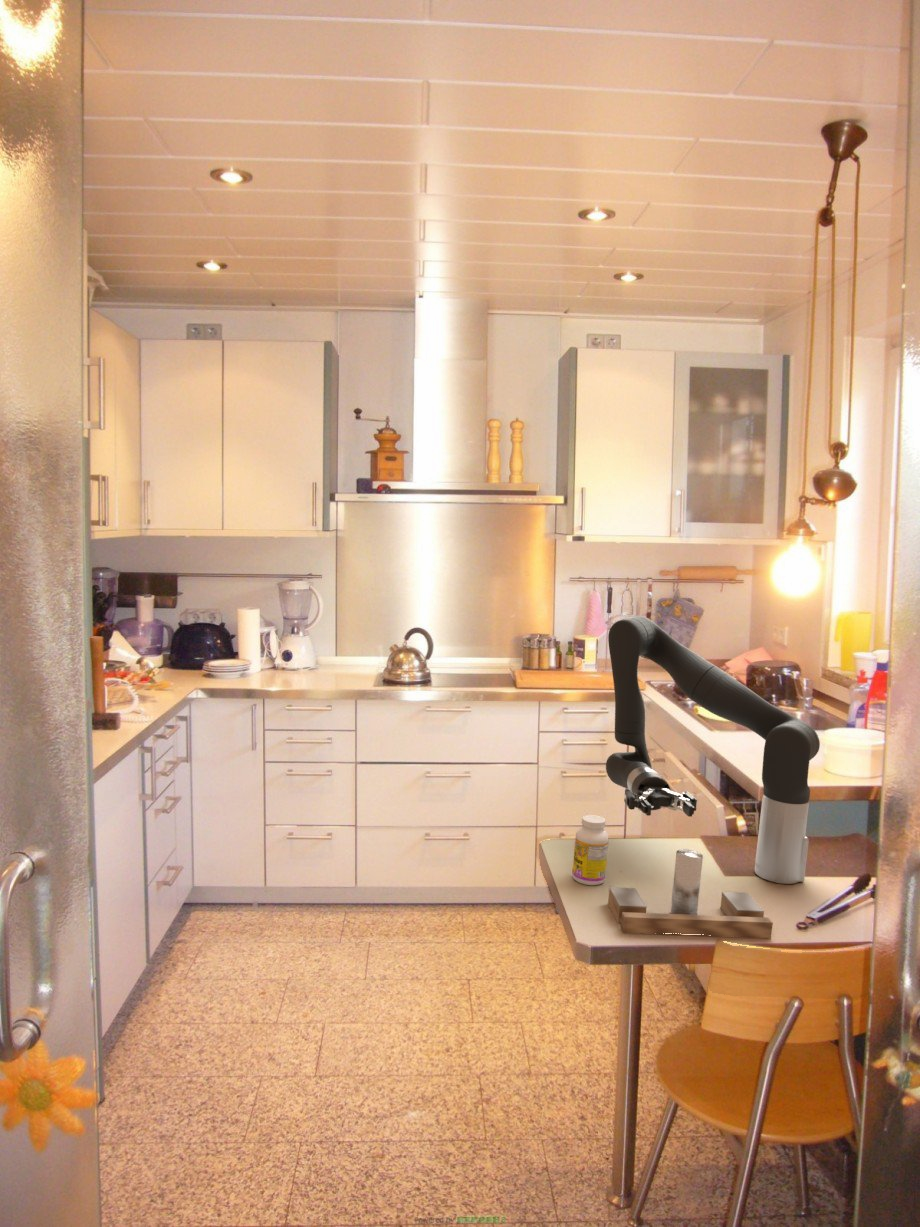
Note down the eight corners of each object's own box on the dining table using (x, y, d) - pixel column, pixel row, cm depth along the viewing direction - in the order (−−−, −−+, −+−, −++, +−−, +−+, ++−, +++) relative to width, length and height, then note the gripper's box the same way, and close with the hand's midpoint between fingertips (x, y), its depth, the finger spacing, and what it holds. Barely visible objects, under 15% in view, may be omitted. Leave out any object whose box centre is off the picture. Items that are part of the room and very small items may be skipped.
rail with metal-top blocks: (745, 908, 173) (747, 892, 173) (770, 938, 161) (772, 920, 161) (608, 903, 171) (609, 887, 171) (623, 933, 159) (625, 915, 159)
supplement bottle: (569, 872, 185) (574, 812, 184) (600, 873, 186) (605, 813, 184) (575, 886, 179) (581, 823, 177) (608, 887, 179) (614, 825, 178)
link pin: (691, 910, 171) (697, 849, 170) (700, 921, 166) (706, 859, 165) (667, 909, 171) (673, 848, 169) (674, 920, 166) (680, 858, 165)
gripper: (617, 770, 196) (636, 792, 180) (680, 771, 197) (706, 794, 181) (614, 803, 197) (634, 828, 181) (678, 805, 198) (703, 830, 182)
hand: (670, 811), depth 181 cm, fingers open, 8 cm apart
